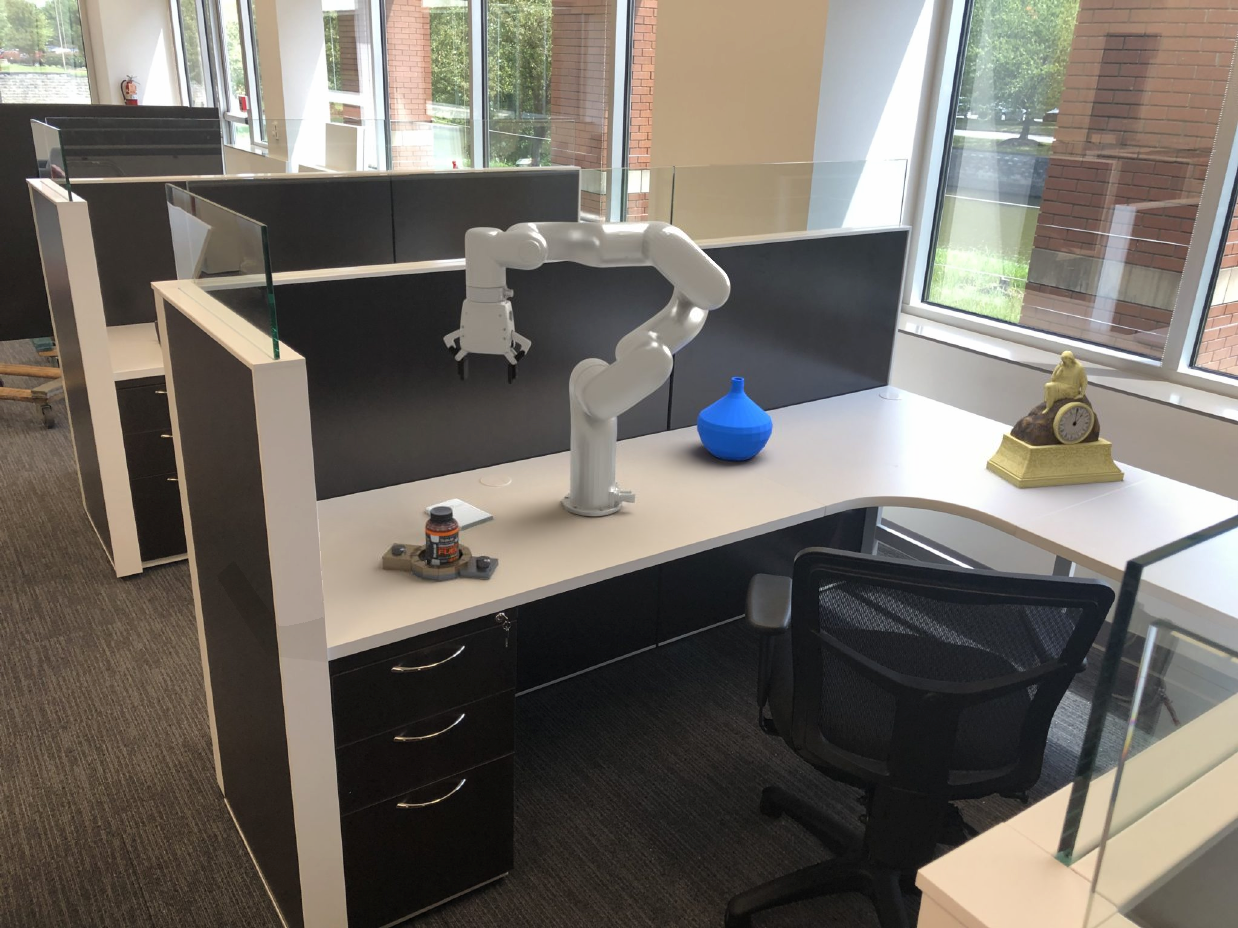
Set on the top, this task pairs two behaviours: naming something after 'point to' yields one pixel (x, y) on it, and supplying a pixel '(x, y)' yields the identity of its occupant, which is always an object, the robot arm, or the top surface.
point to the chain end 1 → (409, 557)
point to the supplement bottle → (442, 537)
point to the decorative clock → (1057, 437)
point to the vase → (734, 425)
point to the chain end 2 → (476, 569)
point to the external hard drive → (464, 513)
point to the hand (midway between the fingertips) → (488, 380)
